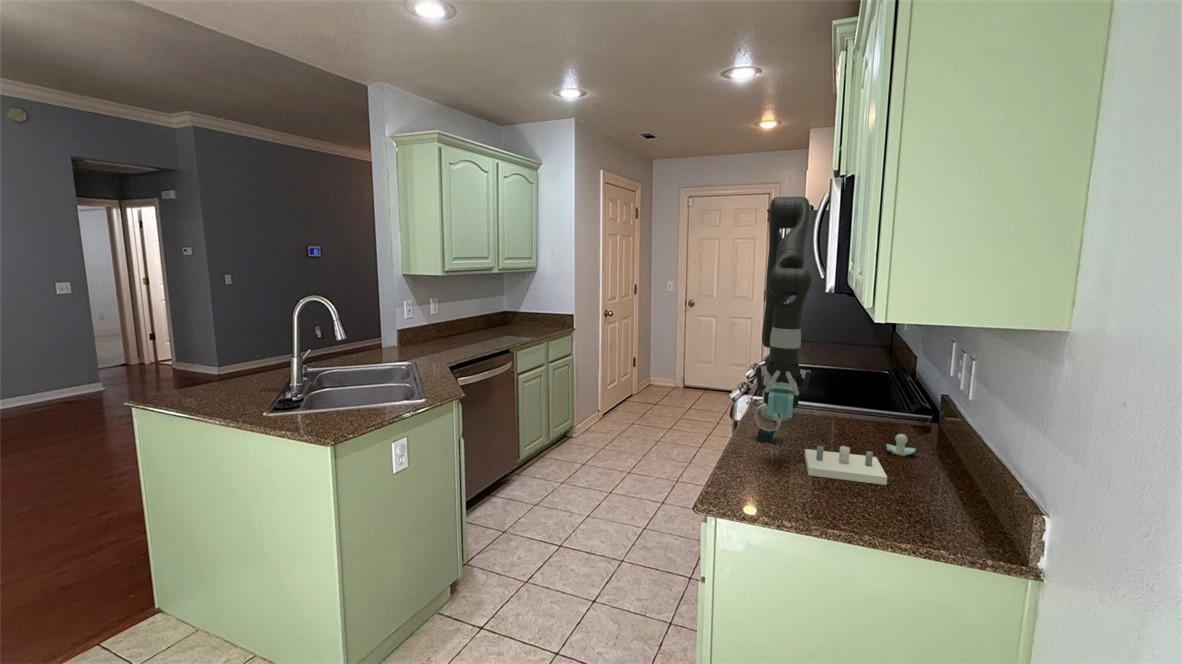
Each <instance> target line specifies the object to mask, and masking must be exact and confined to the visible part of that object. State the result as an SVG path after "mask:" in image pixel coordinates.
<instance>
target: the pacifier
mask: <svg viewBox="0 0 1182 664" xmlns="http://www.w3.org/2000/svg"><path fill="white" fill-rule="evenodd" d="M894 439H895V442H896V443H895V444H896V445H892V444H888V443H887V444H886V445H885V447H886V450H887V451H888V452H890V453H892V455H895V454H896V456H900V455H901V457H907V456H908V455H909V456H910V455H912V454H913V453H915V452H916V448H914V447H906V443H907V442H908V437H907V435H906V434H903V433H898V434H897V435H895V437H894ZM906 455H907V456H906Z"/></svg>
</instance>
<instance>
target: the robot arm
mask: <svg viewBox="0 0 1182 664" xmlns="http://www.w3.org/2000/svg"><path fill="white" fill-rule="evenodd" d="M810 211H811V210H810V202H809V199H808V198H806V197H805V196H776V197H773V198H772V200H771V202H770V205H769V214H768V216H769V217H768V219H769V220H768V225H769V226H768V229H769V230H768V231H769V233H768V234H769V235H768V236H769V237H768V258H767V266H766V267H767V268H766V282H765V283H766V284H765V285H766V286H765V308H764V316H763V317H764V318H763V323H762V325H763V326H762V331H761V339H762V340H761V341H762V345H763V346H764V347H765V348H767V349H769V355H768V358H766V359H765V362H764V365H763V366H761V365H758V366H756V369H755V371H756V373H755V374H756V382H757V389H758V390H762V400H761V401H762V404H766V406H767V407H765V406H764V407H761V418H762V419H765V420H767V421H772V422H776V421H775V419H774V418H773V416H770V415H767V411H768V397H769V392H770V389H771V387H772V386H773V384H776V386H777V387H787V388H789V386H791V387H792V389H793V392H794V397H793V409H796V408H797V407H799V400H800V399H799V397H800V395H803V394H805V395H806V394H807V392H808V388H809V384H810V379H811V374H812V372H811V370H810V369H807V370H806V369H801V367H800V358H801V357H800V353H801V344H802V342H801V341H802V333H801V329H802V328H801V327H802V326H801V325H802V315H803V309H804V305H805V301H806V298H807V296H808V294H809V292H810V290H811V287H812V283H813V277H812V274H811V272H810V270H808V269H806V268H804V265H805V243H806V239H807V233H808V228H809V222H810V221H809V220H810ZM781 229H787V230H788V229H791V230H790V231H788V233H786V234H785V235H784V236H782V233H781ZM791 297H795V298H794V300H793V301H791V302H788V303H787V301H789V299H790V298H791ZM800 374H801V378H802V379H803V382H802V386H801V387H800V388H799V387H798V384H797V382H796V378H797V377H798V376H799V375H800ZM762 404H761V405H762ZM781 416H782V422H788V421H790V420H791V418H787V415H784V414H781ZM782 422H781V423H782Z"/></svg>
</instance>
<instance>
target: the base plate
mask: <svg viewBox="0 0 1182 664" xmlns="http://www.w3.org/2000/svg"><path fill="white" fill-rule="evenodd" d="M816 446H817V447H816V449H808V448H804V460H805V464H806V470H807V475H808V476H812V477H820V478H829V479H835V480H836V479H837V480H844V481H850V482H851V481H852V482H858V483H859V482H860V483H868V484H875V485H882V486H884V485H885V486H887V484H888V476H887V474H886V471H885V470H884V469H883V467H882V465H881V463H880V461H879V459H878V458H877V456H873V455H874V452H873V451H869V450H867V451H865V455H864V454H863V455H861V454H852V453H850V451H851V447H849V446H845V445H841V446H839V452H834V451H827V450H824V449H825V447H824V446H823V445H816Z"/></svg>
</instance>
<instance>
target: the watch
mask: <svg viewBox="0 0 1182 664" xmlns="http://www.w3.org/2000/svg"><path fill="white" fill-rule="evenodd" d="M764 406H765V407H767V406H766V404H760V405H759V406H758V407H757V408H756V409H755V411H754V415H753V418H754V421H755V423H756V425H757V427H758V428H759V429H758V431H757V439H756V440H757V441H760V442H759V443H763V442H766V443H765V444H769V443H771V444H770V445H772V443H773V444H774V442H775V440H776V435H777V434H776V432H777V429H779V427H780V426H781V424H782V416H781V414H776V413H773V418H774V419H775V421H774V422H777V425H776V426H775V427H768V426H764V425H763V424H762V422H761V420H760V417H759V414H758V413H759V412H758V410H759V409H760V408H761V409H762V407H764Z"/></svg>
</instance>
